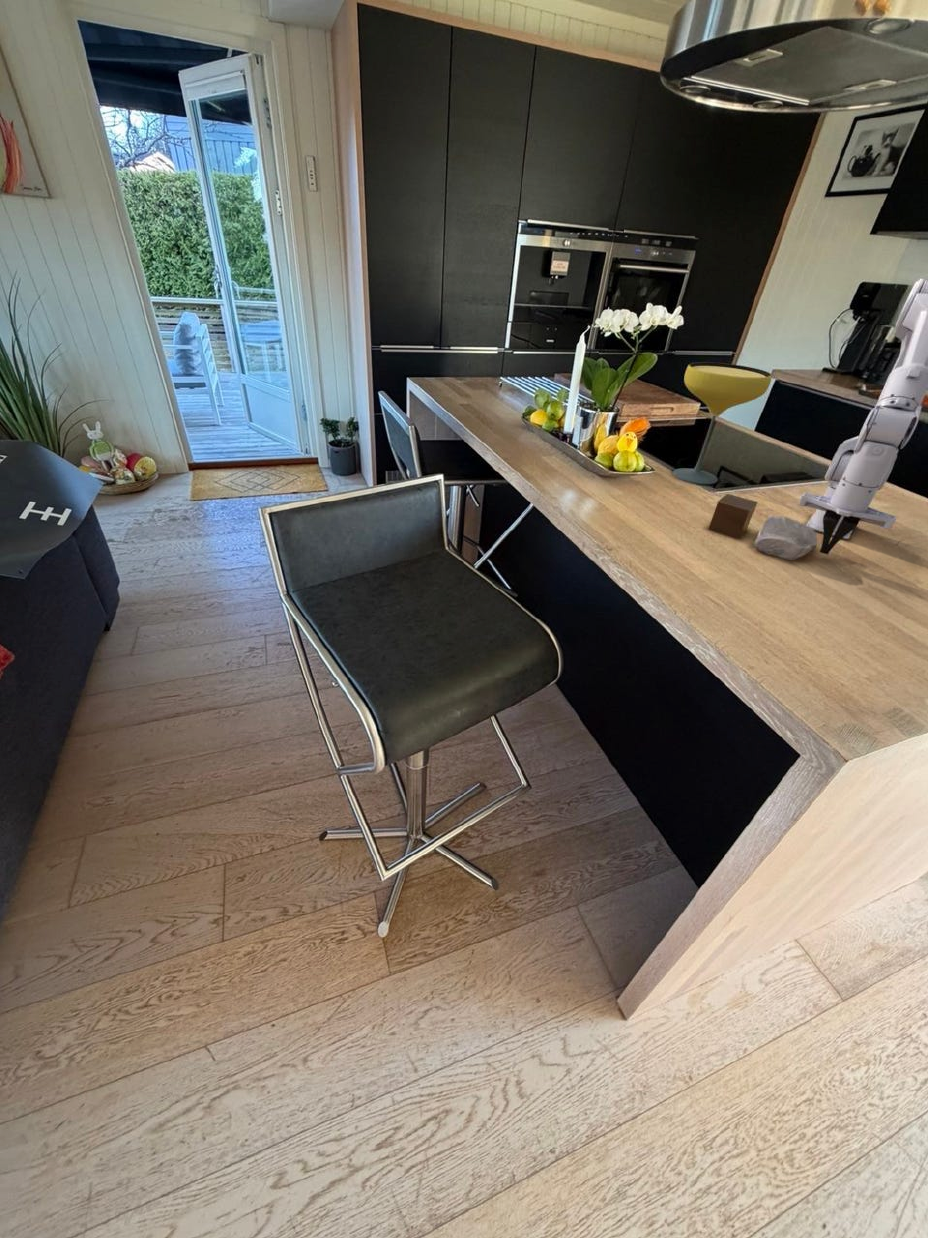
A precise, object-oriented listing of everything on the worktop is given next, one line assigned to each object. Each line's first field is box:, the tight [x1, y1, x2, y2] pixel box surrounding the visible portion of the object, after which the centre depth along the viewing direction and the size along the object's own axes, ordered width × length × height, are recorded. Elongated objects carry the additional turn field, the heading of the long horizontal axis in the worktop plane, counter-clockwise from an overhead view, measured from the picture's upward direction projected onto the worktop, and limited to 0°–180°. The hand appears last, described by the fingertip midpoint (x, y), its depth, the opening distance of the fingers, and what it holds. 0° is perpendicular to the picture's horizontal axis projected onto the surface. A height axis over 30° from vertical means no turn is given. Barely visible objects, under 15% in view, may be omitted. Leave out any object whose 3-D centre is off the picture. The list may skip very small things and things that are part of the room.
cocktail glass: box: [672, 361, 773, 486], centre depth 125 cm, size 18×18×25 cm
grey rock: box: [753, 515, 818, 561], centre depth 101 cm, size 12×5×10 cm
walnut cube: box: [708, 493, 758, 539], centre depth 105 cm, size 6×6×6 cm
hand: (824, 551), depth 98 cm, fingers closed
